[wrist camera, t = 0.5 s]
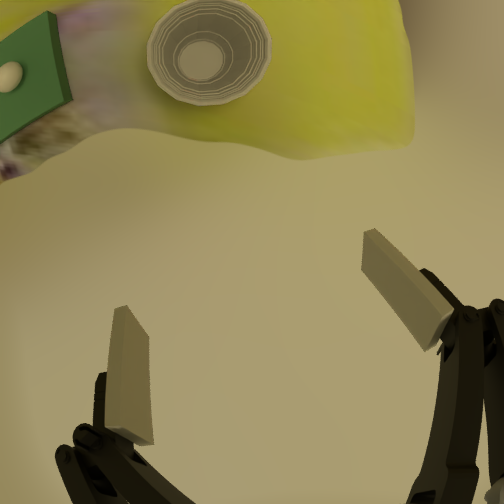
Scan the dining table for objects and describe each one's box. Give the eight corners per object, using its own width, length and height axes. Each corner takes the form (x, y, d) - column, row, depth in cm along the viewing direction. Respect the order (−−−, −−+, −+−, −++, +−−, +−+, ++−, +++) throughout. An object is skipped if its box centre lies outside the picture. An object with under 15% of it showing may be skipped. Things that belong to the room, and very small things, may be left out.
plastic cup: (151, 99, 29) (136, 103, 19) (165, 21, 23) (159, -10, 14) (235, 106, 32) (261, 114, 22) (251, 31, 27) (283, 9, 17)
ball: (3, 72, 17) (-14, 73, 14) (25, 56, 18) (9, 54, 14) (8, 96, 19) (-9, 100, 16) (30, 81, 20) (14, 82, 17)
